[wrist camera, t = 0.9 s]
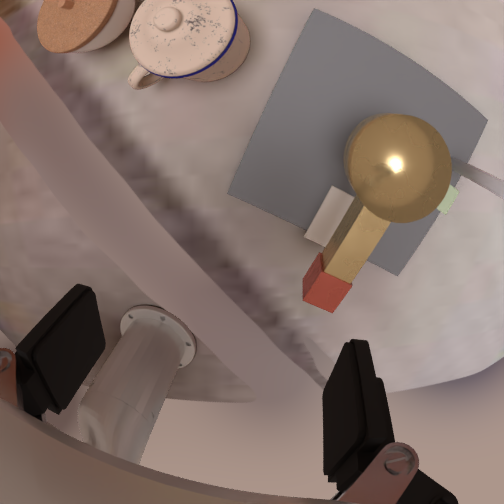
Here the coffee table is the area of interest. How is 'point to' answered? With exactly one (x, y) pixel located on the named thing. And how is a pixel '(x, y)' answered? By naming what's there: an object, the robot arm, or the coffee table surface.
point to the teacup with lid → (186, 41)
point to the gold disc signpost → (379, 196)
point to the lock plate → (348, 133)
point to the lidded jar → (82, 23)
